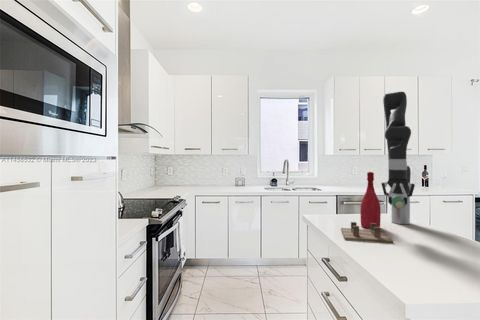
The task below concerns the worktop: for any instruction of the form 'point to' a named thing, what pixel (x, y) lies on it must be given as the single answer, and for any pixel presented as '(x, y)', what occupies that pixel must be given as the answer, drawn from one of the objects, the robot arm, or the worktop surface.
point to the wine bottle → (370, 205)
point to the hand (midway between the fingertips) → (397, 204)
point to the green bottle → (398, 202)
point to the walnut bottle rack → (365, 234)
